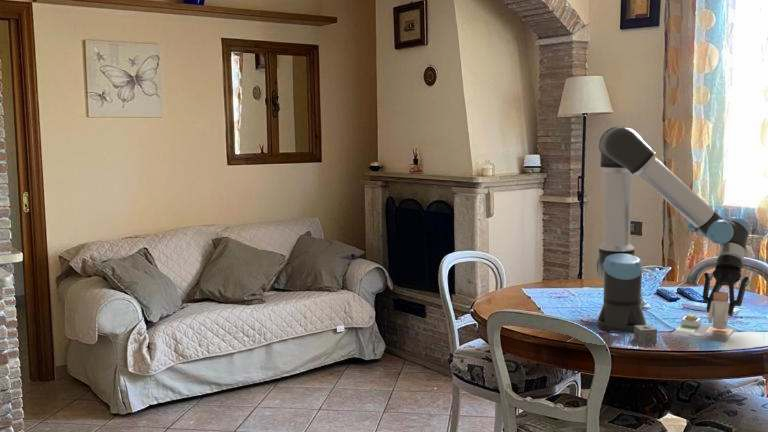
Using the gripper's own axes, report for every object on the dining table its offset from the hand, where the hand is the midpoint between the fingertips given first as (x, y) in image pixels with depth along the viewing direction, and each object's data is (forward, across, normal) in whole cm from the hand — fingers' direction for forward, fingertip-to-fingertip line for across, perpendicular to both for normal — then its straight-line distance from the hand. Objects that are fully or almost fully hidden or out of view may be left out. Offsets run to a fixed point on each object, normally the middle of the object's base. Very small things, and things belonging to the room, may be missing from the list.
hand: (717, 321), depth 235 cm
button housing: (-1, +9, -7) cm, 11 cm away
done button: (-3, +9, -5) cm, 11 cm away
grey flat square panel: (+3, +4, -4) cm, 6 cm away
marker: (-1, 0, -5) cm, 5 cm away
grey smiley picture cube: (+16, +17, +9) cm, 25 cm away
